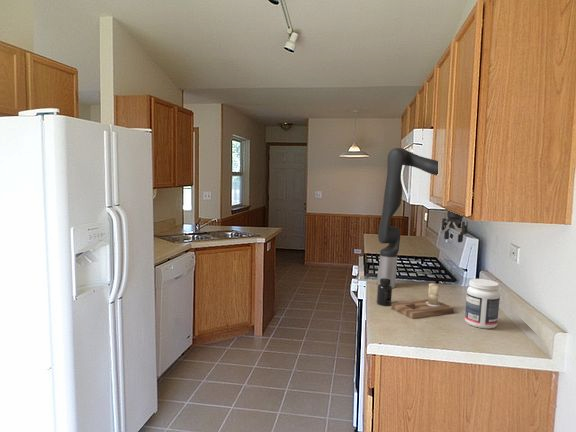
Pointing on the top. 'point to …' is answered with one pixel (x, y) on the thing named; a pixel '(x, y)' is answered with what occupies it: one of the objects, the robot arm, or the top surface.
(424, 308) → the walnut board
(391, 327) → the top surface
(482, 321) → the supplement tub
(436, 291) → the birch peg
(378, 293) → the supplement bottle
